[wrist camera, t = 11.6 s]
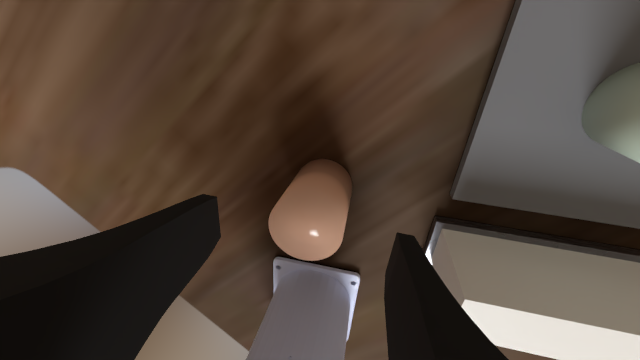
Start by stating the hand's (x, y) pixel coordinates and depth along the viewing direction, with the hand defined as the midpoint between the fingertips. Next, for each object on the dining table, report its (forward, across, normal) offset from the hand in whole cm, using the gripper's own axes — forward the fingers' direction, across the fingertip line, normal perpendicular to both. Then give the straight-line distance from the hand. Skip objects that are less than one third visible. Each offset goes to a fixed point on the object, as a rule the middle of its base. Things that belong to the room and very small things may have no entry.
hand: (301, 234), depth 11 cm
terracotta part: (+10, +1, +3) cm, 10 cm away
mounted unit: (+10, -15, +6) cm, 19 cm away
